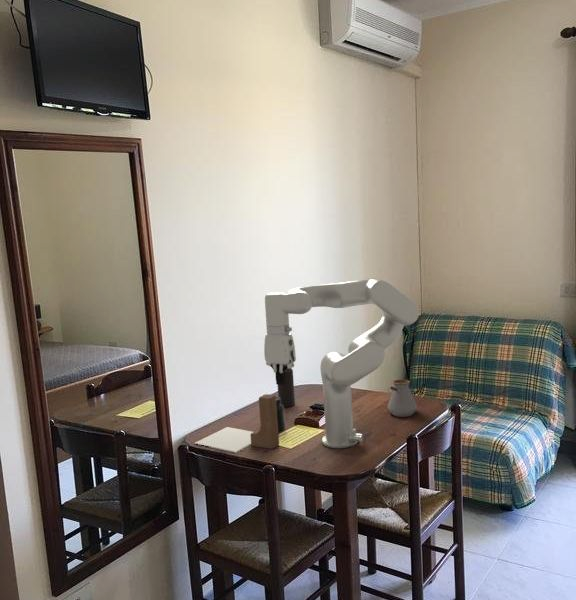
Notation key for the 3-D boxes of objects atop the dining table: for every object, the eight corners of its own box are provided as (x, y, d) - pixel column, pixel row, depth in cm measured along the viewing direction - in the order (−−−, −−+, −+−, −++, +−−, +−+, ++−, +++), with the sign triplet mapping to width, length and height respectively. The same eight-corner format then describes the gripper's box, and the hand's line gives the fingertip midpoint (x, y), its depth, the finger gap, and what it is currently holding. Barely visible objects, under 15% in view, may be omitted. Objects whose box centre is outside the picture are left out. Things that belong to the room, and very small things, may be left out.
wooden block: (250, 446, 213) (247, 396, 211) (257, 441, 217) (254, 392, 215) (273, 449, 209) (269, 398, 206) (279, 444, 213) (276, 394, 210)
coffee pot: (392, 408, 245) (390, 371, 243) (420, 410, 240) (419, 373, 238) (376, 425, 226) (375, 386, 224) (407, 428, 221) (406, 388, 219)
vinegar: (292, 407, 253) (289, 360, 250) (276, 407, 255) (273, 360, 252) (296, 402, 259) (294, 356, 256) (281, 402, 261) (278, 356, 259)
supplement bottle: (269, 433, 224) (267, 402, 223) (265, 427, 231) (263, 397, 229) (287, 430, 226) (285, 399, 225) (282, 425, 233) (280, 394, 231)
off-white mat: (267, 435, 222) (267, 434, 222) (235, 453, 208) (235, 451, 208) (227, 428, 233) (227, 426, 233) (194, 444, 219) (194, 442, 218)
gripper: (303, 329, 201) (305, 383, 203) (266, 326, 209) (269, 378, 212) (290, 333, 195) (293, 389, 197) (253, 330, 203) (256, 384, 206)
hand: (281, 383), depth 205 cm, fingers closed
